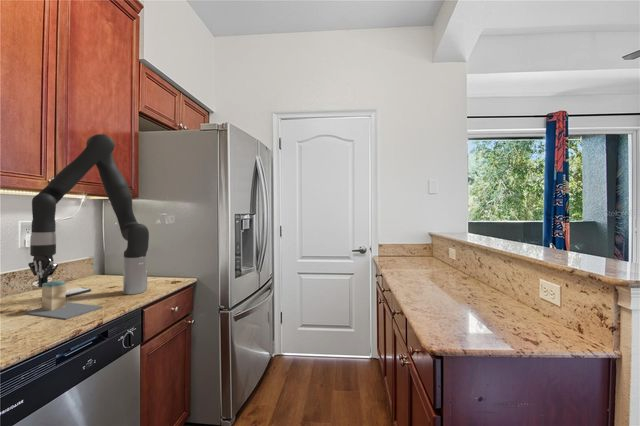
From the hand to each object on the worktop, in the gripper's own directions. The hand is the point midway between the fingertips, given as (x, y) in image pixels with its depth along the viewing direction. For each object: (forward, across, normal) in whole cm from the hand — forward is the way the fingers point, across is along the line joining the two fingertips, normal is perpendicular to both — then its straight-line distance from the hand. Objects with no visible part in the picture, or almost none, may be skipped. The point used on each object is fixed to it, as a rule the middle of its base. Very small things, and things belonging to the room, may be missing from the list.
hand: (42, 286), depth 118 cm
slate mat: (+8, -12, 0) cm, 14 cm away
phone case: (+9, +10, -17) cm, 21 cm away
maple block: (+8, -6, 0) cm, 10 cm away
